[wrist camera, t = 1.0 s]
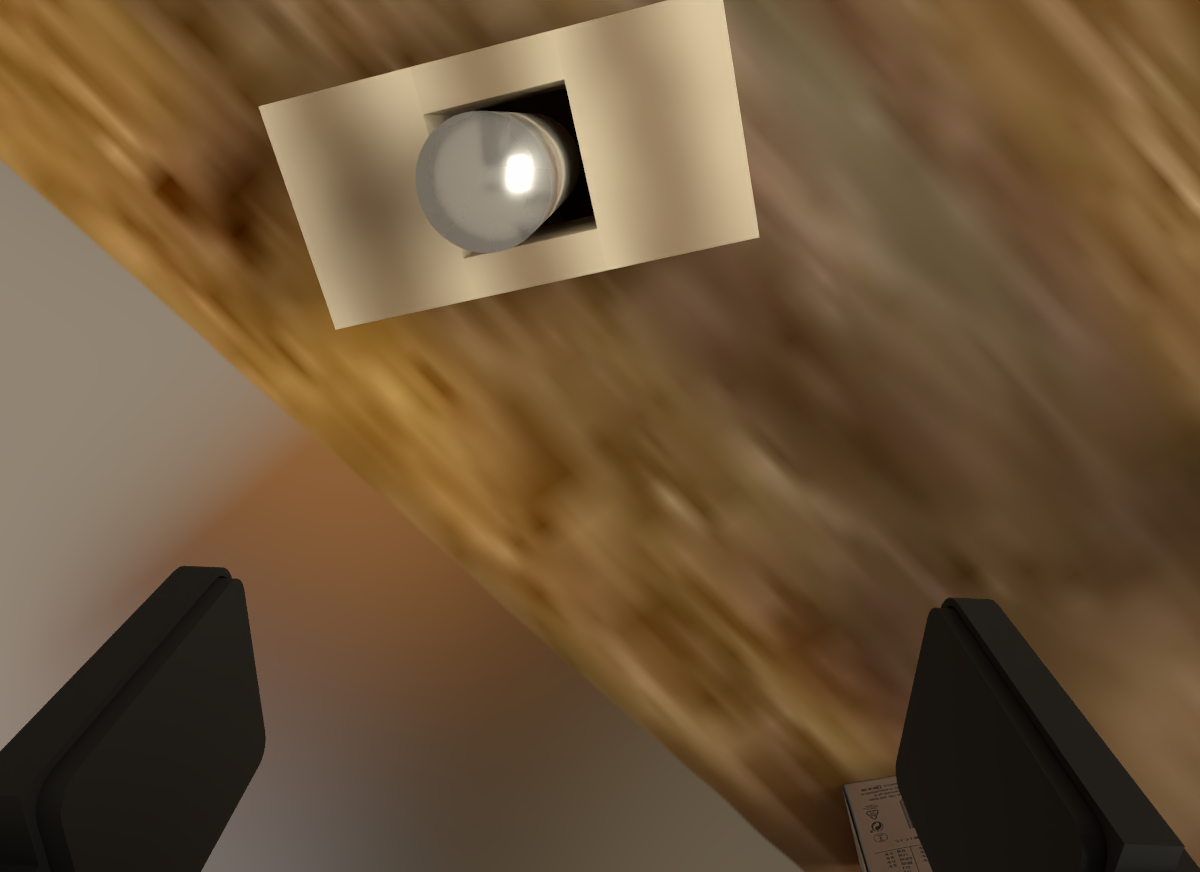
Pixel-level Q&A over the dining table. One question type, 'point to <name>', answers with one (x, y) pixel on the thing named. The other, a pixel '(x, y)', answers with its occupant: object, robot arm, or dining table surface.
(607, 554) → the dining table surface
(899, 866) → the juice carton
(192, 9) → the dining table surface
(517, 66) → the beige block with hole
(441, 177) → the steel axle
